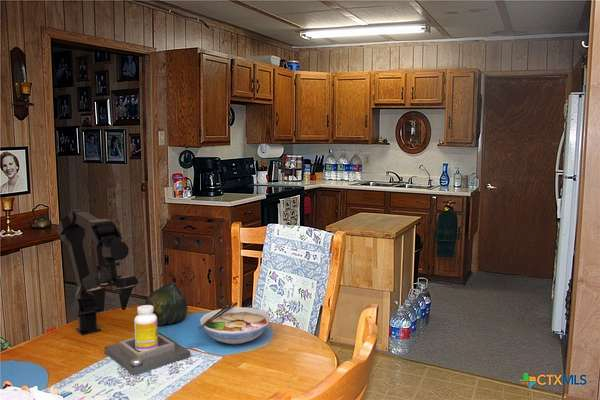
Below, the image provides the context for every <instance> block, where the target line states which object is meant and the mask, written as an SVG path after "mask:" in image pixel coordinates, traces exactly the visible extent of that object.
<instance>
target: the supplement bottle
mask: <svg viewBox="0 0 600 400" xmlns="http://www.w3.org/2000/svg"><path fill="white" fill-rule="evenodd" d="M136 310H137V315H136V316H135V317H134V319H133V320H134V324H133V325H134V338H135V348H136V350H137V351H140V352H141V351H145V350H148V349H152V348H155V347H158V325H157V316H156V315H155V314H153V311H154V308H153V306H151V305H145V304H144V305H139V306H138V307H137V308H136Z"/></svg>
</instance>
